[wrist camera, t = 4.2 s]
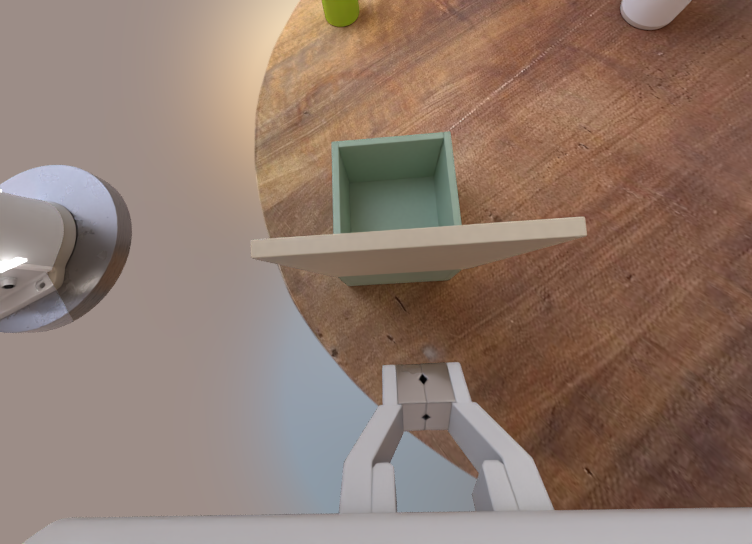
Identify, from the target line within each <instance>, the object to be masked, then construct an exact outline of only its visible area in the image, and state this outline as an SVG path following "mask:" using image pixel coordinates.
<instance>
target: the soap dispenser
mask: <svg viewBox="0 0 752 544" xmlns="http://www.w3.org/2000/svg"><path fill="white" fill-rule="evenodd" d="M322 4H323V9H324V13H325V18H326V20H327V21H328V22H329V23H330V24H331V25H333V26H337V27H344V26H348V25H350V24H352V23H353V22H354V21H355V20H356V19H357V18H358V15H359V4H358V0H322Z"/></svg>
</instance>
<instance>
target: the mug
mask: <svg viewBox="0 0 752 544" xmlns="http://www.w3.org/2000/svg"><path fill="white" fill-rule="evenodd" d="M691 1H692V0H622V2H621V7H620V10H621V14H622V16H623V18H624V19H625V20H626V21H627V23H629V24H630V25H632V26H634V27H636V28H639V29H644V30H655V29H659V28H662V27H664V26H666V25H667V24H669V23H670V22H671V21H672V20H673V19H674V18H675V17H676V16H677V15H678V14H679V13H680V12H681V11H682V10H683V9H684V8H685V7H686V6H687V5H688V4H689V3H690V2H691Z"/></svg>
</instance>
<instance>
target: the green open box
mask: <svg viewBox="0 0 752 544" xmlns="http://www.w3.org/2000/svg"><path fill="white" fill-rule="evenodd" d="M332 187H333V234H341V233H356V232H370V231H384V230H399V229H413V228H427V227H442V226H456V225H462V224H461V216H460V207H459V199H458V191H457V182H456V174H455V166H454V157H453V149H452V141H451V133H450V132H440V133H429V134H417V135H406V136H394V137H383V138H371V139H360V140H348V141H339V142H338V141H336V142H332ZM461 270H462V269H457V270H441V271H425V272H408V273H392V274H376V275H360V276H344V277H338V278H340V279H341V280H342V281H343V282H344V283H345V284H346V285H347V286H359V285H376V284H393V283H409V282H426V281H443V280H450V279H451V278H452V277H453V276H455V275H456V274H457V273H458V272H459V271H461Z"/></svg>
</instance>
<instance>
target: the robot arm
mask: <svg viewBox="0 0 752 544" xmlns="http://www.w3.org/2000/svg"><path fill="white" fill-rule="evenodd" d="M1 191H2V190H1V189H0V320H1V319H2V318H4V317H6V316H8V315H10V314H12V313H14V312H16V311H18V310H20V309H21V308H23V307H25V306H27V305H29V304H31V303H33V302H35V301H37V300H39V299H40V298H42V297H44V296H46V295H48V294H50V293H52V292H54V291H56V290H57V289H59V288H60V287H61V286H62V284H63V281H64V275H65V267H66V264H67V262H68V260H69V258H70V256H71V254H72V251H73V249H74V245H75V241H76V225H75V222H74V219H73V217H72V215H71V213H70V212H69V211H68V210H67V209H66V208H65V207H64V206H62V205H60V204H58V203H56V202H52V201H44V200H37V199H31V198H26V197H21V196H16V195H12V194H7V193H3V192H1ZM382 387H383V405H379V406H378V408H377V409H376V411H375V413H374V414H373V416H372V417H371V419H370V421H369V422H368V424H367V425H366V427H365V429H364V430H363V432H362V434H361V435H360V437H359V439H358V440H357V442H356V443H355V445H354V447H353V448H352V450H351V451H350V453H349V455H348V456H347V458H346V459H345V461H344V466H343V476H342V487H341V497H340V507H339V514H274V515H207V516H149V517H148V516H146V517H145V516H142V517H72V518H64V519H59V520H57V521H55V522H52V523H51V524H49V525H48V526H46V527H45V528H43V529H42V530H40V531H39V532H37V533H36V534H34V535H33V536H31V537H30V538H29V539H27V540H26V541H25V542H24V543H22V544H752V507H738V508H671V509H605V510H554V508H553V506H552V503H551V501H550V498H549V496H548V494H547V491H546V489H545V487H544V484H543V482H542V479H541V477H540V475H539V472H538V470H537V468H536V465H535V463H534V460H533V458H532V457H531V456H530V455H529V454H528V453H527V452H526V451H525V450H524V449H523V448H522V447H521V446H520V445H519V444H518V443H517V442H516V441H515V440H514V439H513V438H512V437H511V436H510V435H509V434H508V433H507V432H506V431H505V430H504V429H503V428H502V427H501V426H500V425H499V424H498V423H497V422H496V421H495V420H494V419H493V418H492V417H491V416H489V415H488V414H487V413H486V412H485V411H484V410H483V409H482V408H481V407H480V406H479V405H478V404H477V403H476V402H472V401H471V397H470V394H469V391H468V388H467V384H466V381H465V378H464V375H463V371H462V368H461V365H460V363H459V362H450V363H445V362H443V363H425V364H408V365H396V367H395V365H383V367H382ZM418 430H448V432H449V433H450V435H451V436H452V437H453V439H454V440H455V441H456V443H457V444H458V445H459V447H460V448H461V449H462V451H463V452H464V454H465V455H466V456H467V458H468V459H469V460H470V462H471V463H472V464H473V466H474V467H475V469H476V470H477V471H478V473H479V475H478V478H477V481H476V484H475V487H474V490H473V493H472V497H473V501H474V505H475V510H476V511H475V512H474V511H473V512H472V511H471V512H407V513H406V512H405V513H397V501H396V488H395V475H394V467H393V466H392V465H391V464H390V461H391V459H392V457H393V455H394V453H395V450H396V448H397V446H398V444H399V441H400V439H401V437H402V435H403V431H418Z"/></svg>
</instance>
